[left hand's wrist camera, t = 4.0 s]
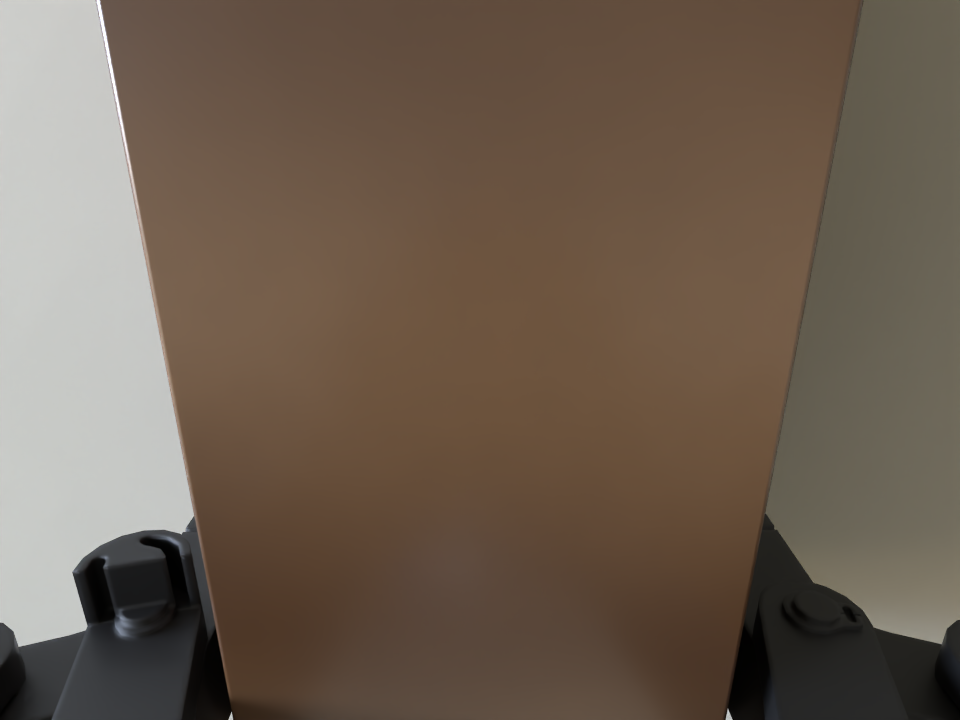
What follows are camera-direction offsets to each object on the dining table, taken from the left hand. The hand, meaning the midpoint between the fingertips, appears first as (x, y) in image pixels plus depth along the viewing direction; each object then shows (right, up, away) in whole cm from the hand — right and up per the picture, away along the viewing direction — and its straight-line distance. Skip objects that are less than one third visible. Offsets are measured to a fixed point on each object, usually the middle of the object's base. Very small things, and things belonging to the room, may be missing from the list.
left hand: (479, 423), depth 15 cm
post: (0, +29, -11) cm, 31 cm away
